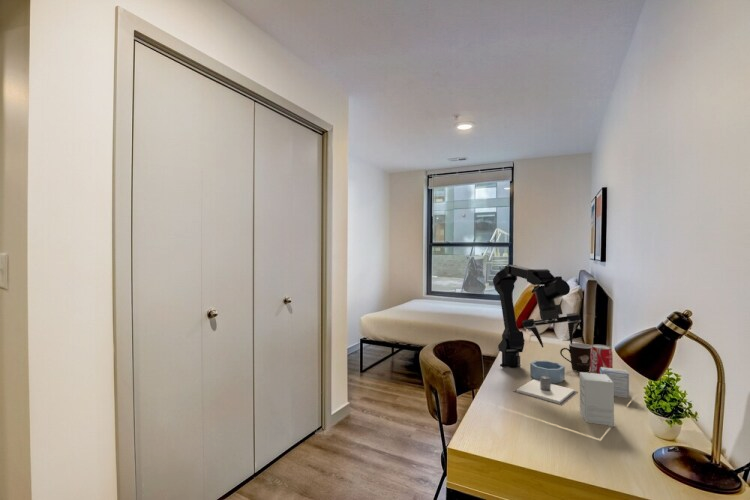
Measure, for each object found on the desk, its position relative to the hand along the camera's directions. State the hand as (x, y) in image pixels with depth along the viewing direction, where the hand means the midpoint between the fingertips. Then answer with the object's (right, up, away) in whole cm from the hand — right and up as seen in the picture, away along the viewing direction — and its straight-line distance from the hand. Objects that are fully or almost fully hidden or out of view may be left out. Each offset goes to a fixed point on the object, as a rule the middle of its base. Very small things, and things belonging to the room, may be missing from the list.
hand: (557, 345), depth 127 cm
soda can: (+22, -16, +11) cm, 30 cm away
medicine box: (+18, -16, -3) cm, 24 cm away
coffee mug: (+20, -16, +24) cm, 36 cm away
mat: (-5, -16, -2) cm, 17 cm away
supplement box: (+1, -16, -21) cm, 27 cm away
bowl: (+2, -16, +12) cm, 21 cm away
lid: (-5, -15, -2) cm, 16 cm away
